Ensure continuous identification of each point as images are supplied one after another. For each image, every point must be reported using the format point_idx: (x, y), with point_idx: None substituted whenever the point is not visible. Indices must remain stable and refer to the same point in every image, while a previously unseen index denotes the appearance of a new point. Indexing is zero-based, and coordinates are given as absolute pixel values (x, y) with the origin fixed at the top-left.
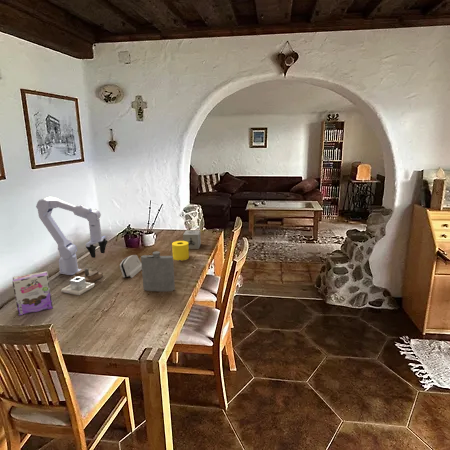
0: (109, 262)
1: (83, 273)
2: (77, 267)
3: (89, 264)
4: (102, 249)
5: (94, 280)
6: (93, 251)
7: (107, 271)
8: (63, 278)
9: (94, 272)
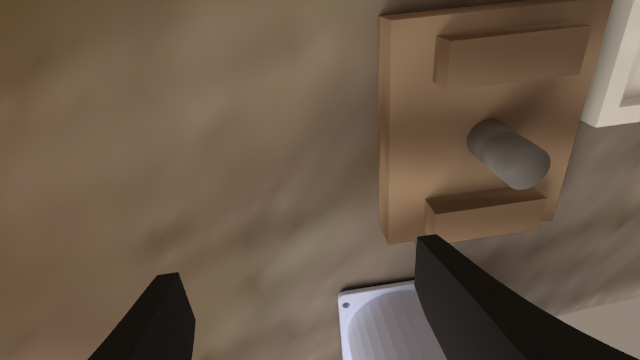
0: (60, 245)
1: (464, 195)
2: (381, 323)
3: (215, 334)
4: (163, 357)
5: (515, 2)
6: (569, 325)
7: (244, 78)
8: (504, 278)
9: (486, 67)
